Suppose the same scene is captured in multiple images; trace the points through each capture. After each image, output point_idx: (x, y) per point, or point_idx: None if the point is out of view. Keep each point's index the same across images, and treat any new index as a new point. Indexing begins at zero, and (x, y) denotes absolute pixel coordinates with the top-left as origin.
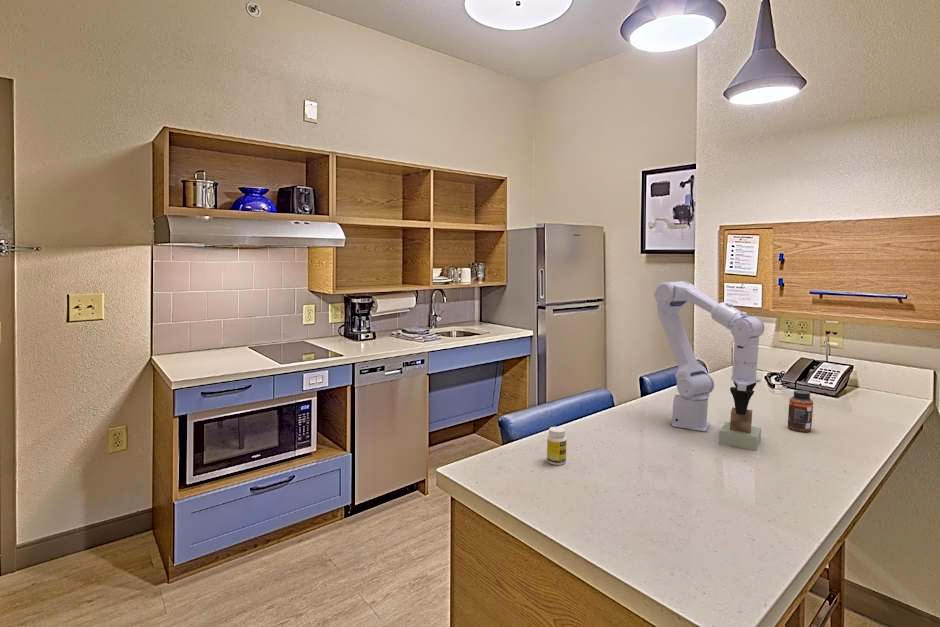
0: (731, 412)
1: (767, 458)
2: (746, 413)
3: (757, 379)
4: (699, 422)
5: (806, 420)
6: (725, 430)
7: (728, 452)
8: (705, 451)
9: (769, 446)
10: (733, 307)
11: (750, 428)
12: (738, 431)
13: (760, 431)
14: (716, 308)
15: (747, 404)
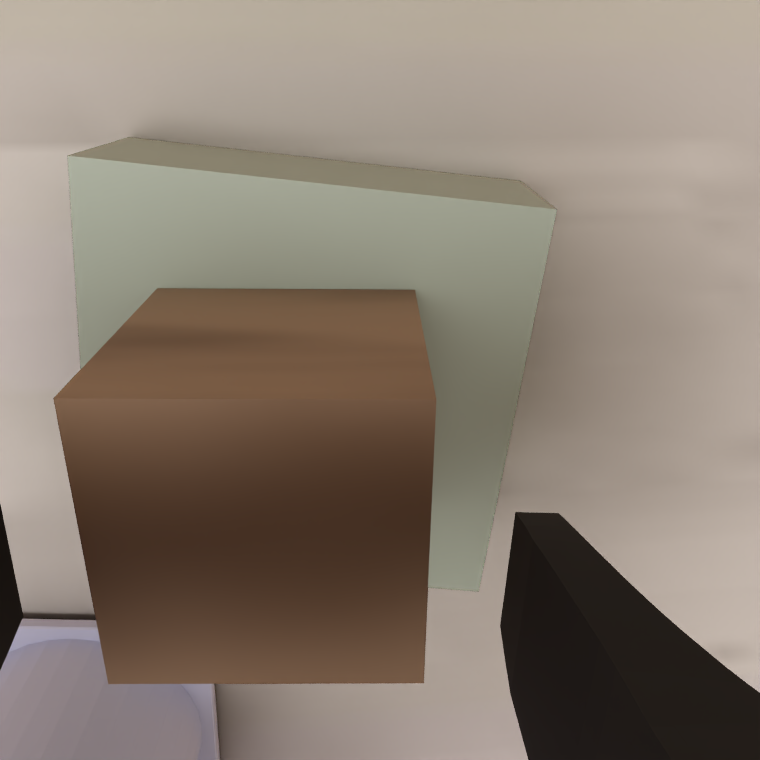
0: (421, 675)
1: (732, 57)
2: (367, 484)
3: None
4: (162, 727)
5: None
6: (446, 543)
7: (681, 419)
8: (722, 577)
9: (299, 32)
10: None
11: (419, 316)
12: None
13: (169, 162)
14: None
15: (718, 663)
